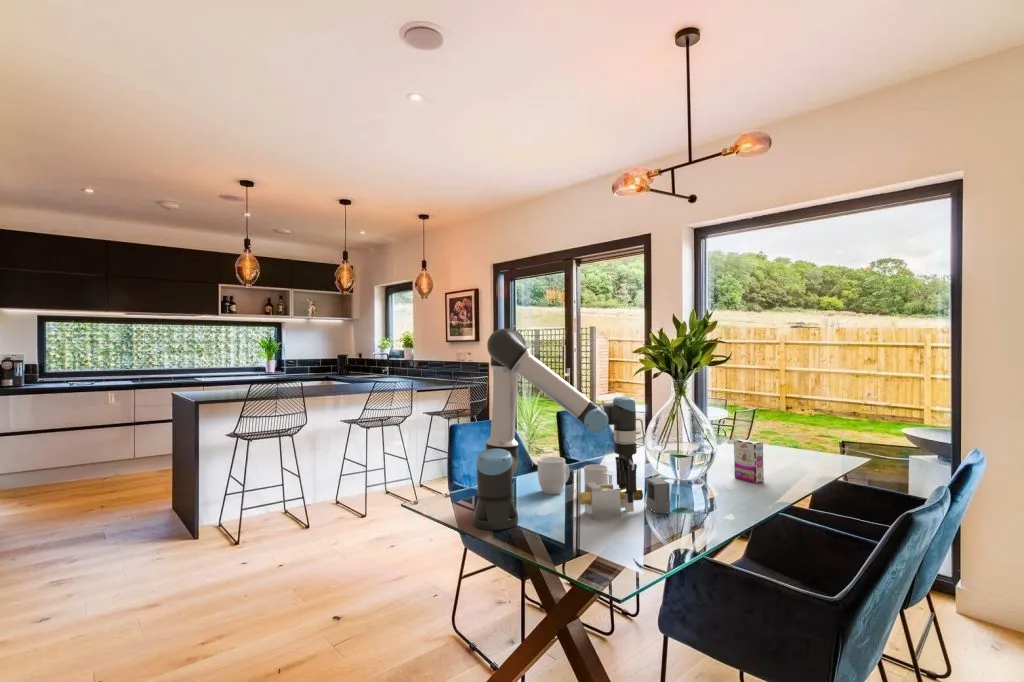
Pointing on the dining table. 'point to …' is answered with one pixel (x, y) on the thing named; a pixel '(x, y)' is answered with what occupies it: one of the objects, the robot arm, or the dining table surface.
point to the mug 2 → (597, 474)
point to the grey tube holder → (603, 501)
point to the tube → (638, 495)
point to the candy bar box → (748, 460)
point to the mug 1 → (552, 474)
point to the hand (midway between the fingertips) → (626, 509)
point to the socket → (658, 495)
